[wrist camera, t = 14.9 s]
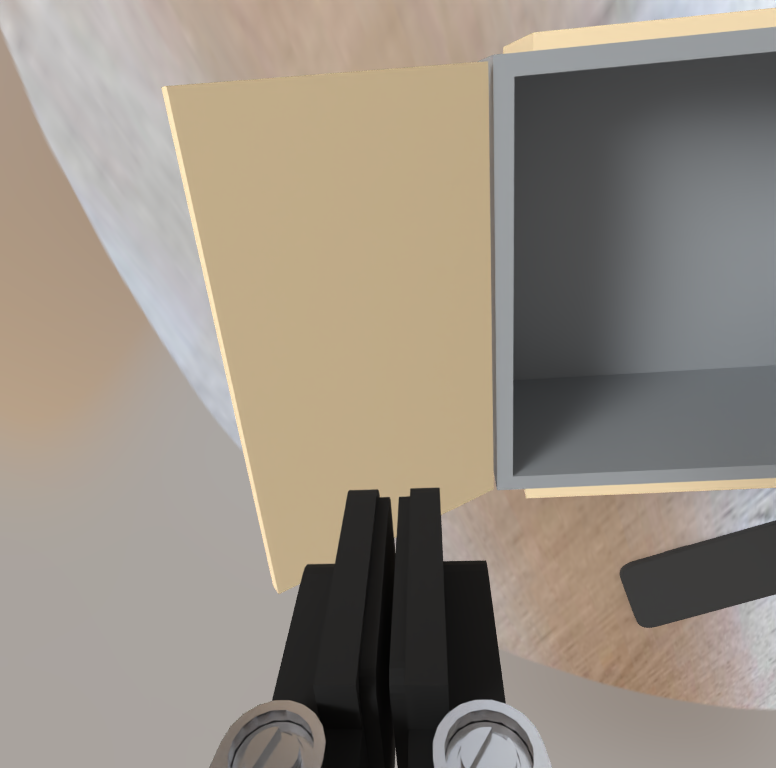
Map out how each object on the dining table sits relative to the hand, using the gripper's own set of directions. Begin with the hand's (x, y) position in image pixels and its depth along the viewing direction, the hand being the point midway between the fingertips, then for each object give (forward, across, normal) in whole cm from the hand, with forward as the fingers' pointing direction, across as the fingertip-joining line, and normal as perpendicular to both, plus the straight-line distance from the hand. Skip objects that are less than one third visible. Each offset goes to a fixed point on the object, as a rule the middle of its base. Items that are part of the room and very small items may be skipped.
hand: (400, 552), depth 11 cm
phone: (+30, -23, +29) cm, 48 cm away
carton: (+30, -16, +2) cm, 33 cm away
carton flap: (+14, +2, +2) cm, 14 cm away
